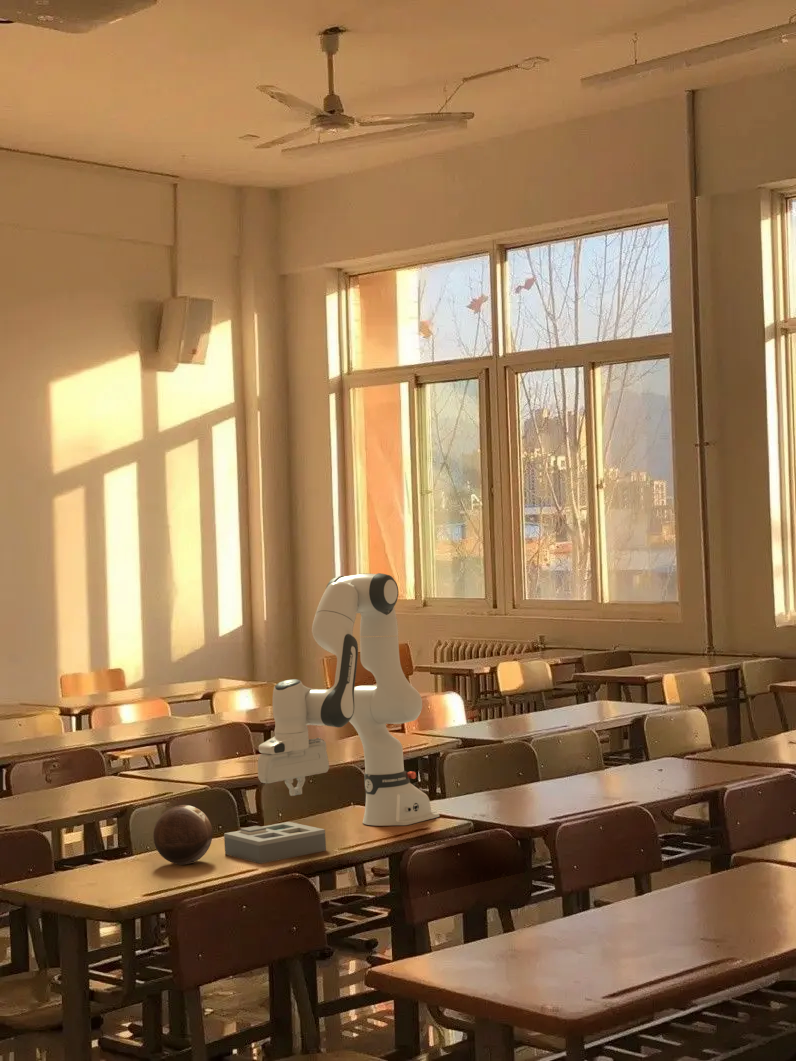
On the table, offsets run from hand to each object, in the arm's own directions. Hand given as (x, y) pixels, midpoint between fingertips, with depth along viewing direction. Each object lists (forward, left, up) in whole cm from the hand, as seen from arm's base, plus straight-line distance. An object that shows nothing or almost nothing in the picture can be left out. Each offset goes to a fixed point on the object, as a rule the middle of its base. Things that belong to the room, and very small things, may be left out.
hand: (295, 794), depth 393 cm
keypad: (+5, -3, -15) cm, 16 cm away
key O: (+9, -7, -11) cm, 16 cm away
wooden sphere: (+28, -10, -15) cm, 34 cm away
